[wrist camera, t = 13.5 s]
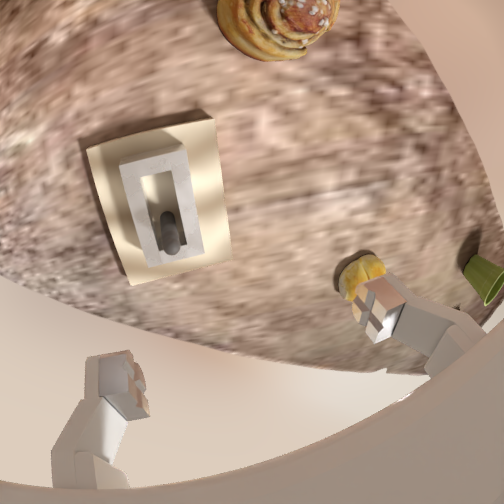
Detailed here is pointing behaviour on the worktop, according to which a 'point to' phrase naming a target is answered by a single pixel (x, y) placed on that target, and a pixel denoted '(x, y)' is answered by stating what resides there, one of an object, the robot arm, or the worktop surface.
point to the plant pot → (484, 277)
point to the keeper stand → (164, 198)
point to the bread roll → (359, 274)
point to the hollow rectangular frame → (139, 206)
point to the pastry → (275, 25)
